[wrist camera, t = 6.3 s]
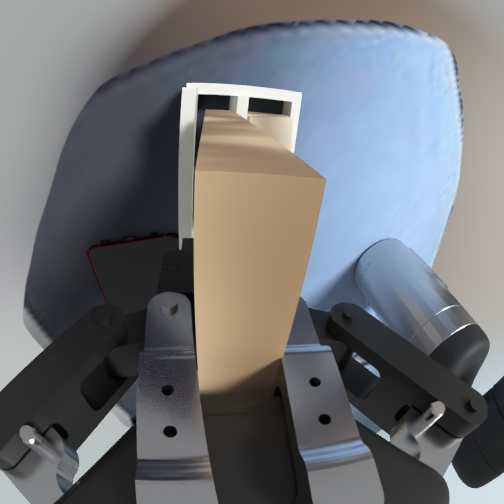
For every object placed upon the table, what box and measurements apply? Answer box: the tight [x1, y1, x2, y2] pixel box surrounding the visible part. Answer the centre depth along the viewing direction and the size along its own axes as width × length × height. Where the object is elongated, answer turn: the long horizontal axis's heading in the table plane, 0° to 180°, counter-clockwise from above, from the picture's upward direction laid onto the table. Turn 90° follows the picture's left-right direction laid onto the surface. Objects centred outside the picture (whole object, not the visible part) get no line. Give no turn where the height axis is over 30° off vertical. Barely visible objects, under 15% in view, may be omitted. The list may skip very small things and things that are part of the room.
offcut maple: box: [247, 114, 293, 151], centre depth 23 cm, size 3×5×3 cm
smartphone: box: [87, 233, 198, 371], centre depth 37 cm, size 12×2×25 cm
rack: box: [178, 83, 302, 250], centre depth 25 cm, size 10×15×7 cm, turn 174°
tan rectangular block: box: [194, 109, 326, 407], centre depth 13 cm, size 2×11×16 cm, turn 174°
